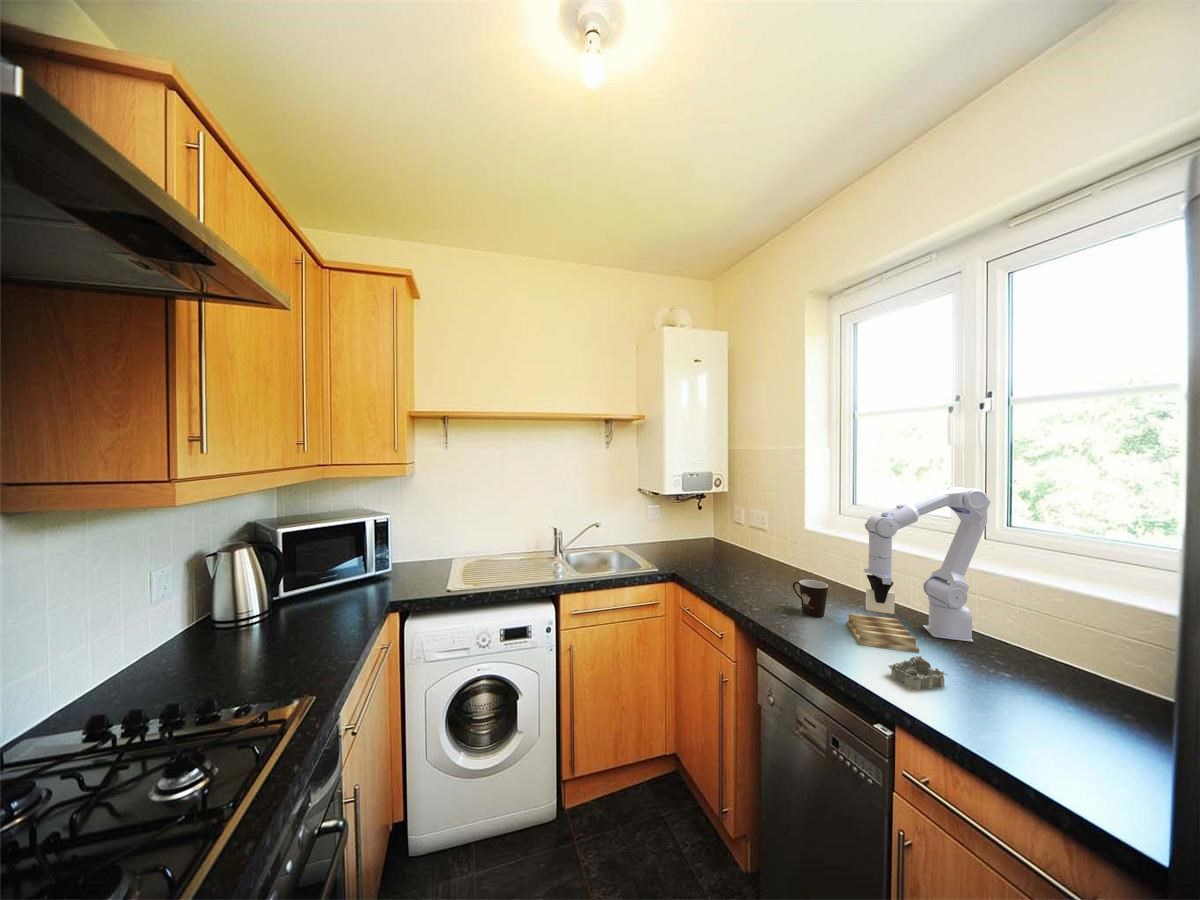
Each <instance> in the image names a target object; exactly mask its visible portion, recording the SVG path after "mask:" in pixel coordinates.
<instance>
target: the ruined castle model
mask: <svg viewBox="0 0 1200 900" xmlns="http://www.w3.org/2000/svg"><path fill="white" fill-rule="evenodd" d="M887 667H888V668H889V669H890V670H891V674H890V675H891V677H890V678H891V679H892V680H894V681H901V682H902V683H904V686H905V687H906V688H908V689H909V688H911V689H915V690H916V691H921V689H922V688H921V687H926V688H928V689H933V685H936V686H939V687H945V676H948V675H949V674H947V673H946V672H945V671H943V670H942V671H940V670H939V668H937V667H936V668H935V669H934V668H932V667H931V664H930V662H929V661H927V660H926V659H924V658H923V656H922V655H921V656H920V655H919V656H918V655H916V656H912V657H910V658H909V660H903V661H902V662H901V661H900V662H896V663H894V664H890V665H889V664H888V665H887ZM918 673H921V674H919V675H918ZM924 674H926V675H924Z"/></svg>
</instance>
